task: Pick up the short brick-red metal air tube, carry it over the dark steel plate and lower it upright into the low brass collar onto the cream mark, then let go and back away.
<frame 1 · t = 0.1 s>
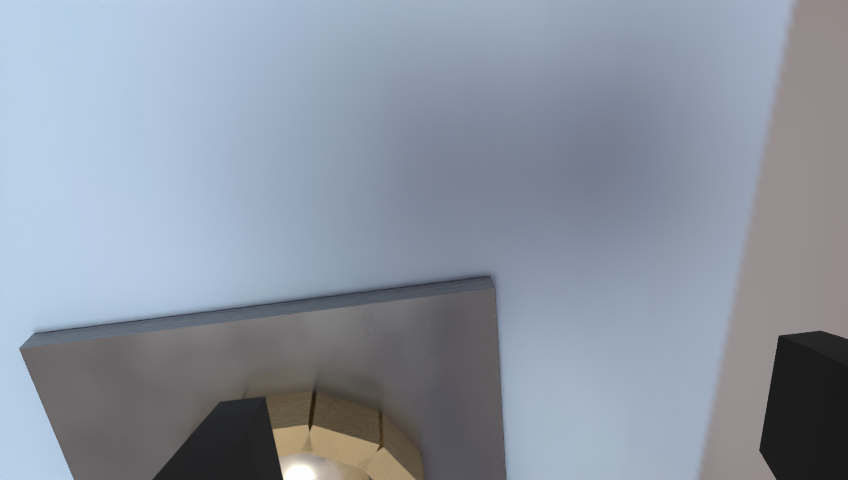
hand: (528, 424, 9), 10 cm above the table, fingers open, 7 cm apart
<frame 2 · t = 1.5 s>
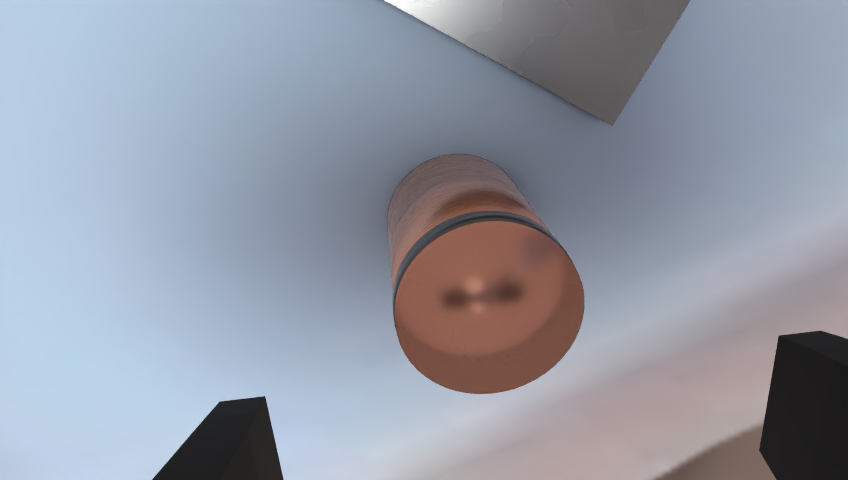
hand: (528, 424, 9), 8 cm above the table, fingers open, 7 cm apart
air tube: (455, 220, 16), on the table
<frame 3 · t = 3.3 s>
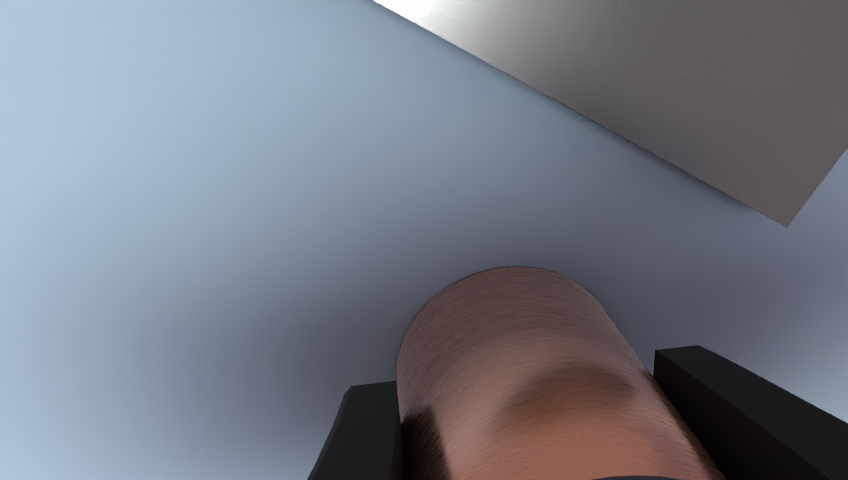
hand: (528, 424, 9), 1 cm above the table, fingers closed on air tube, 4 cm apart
air tube: (507, 366, 10), on the table, touching gripper
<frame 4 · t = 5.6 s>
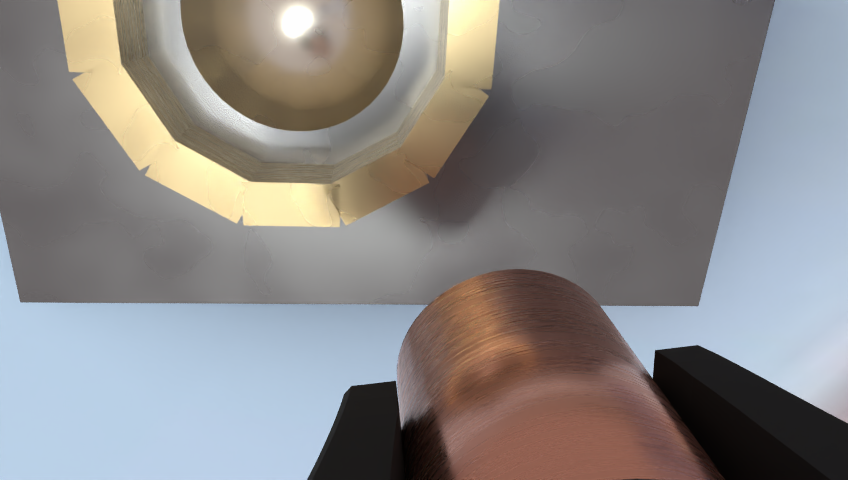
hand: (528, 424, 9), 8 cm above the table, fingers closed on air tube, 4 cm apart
collar plate: (384, 25, 14), on the table
air tube: (507, 368, 10), point 7 cm above the table, touching gripper
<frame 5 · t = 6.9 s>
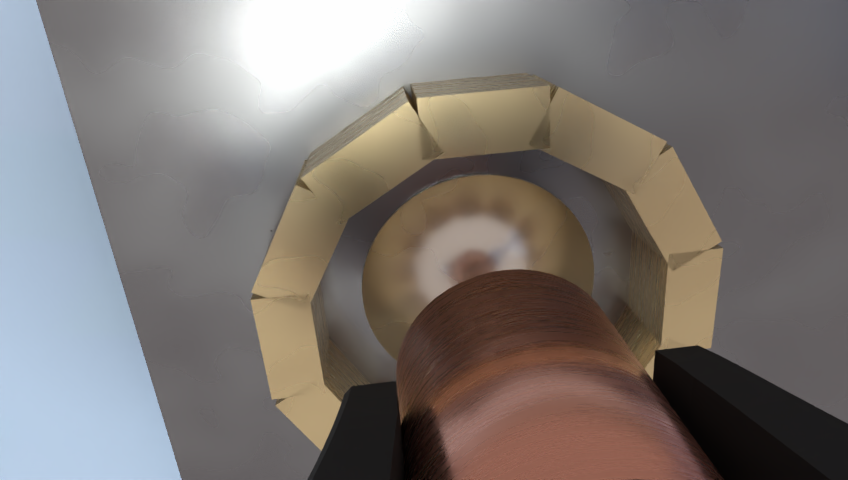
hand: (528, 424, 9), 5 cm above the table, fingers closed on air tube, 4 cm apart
collar plate: (562, 259, 13), on the table
air tube: (506, 369, 10), point 4 cm above the table, touching gripper
when the fingers open (3 cm above the table, at t = 8.1 s): air tube stays where it is, resting on collar plate.
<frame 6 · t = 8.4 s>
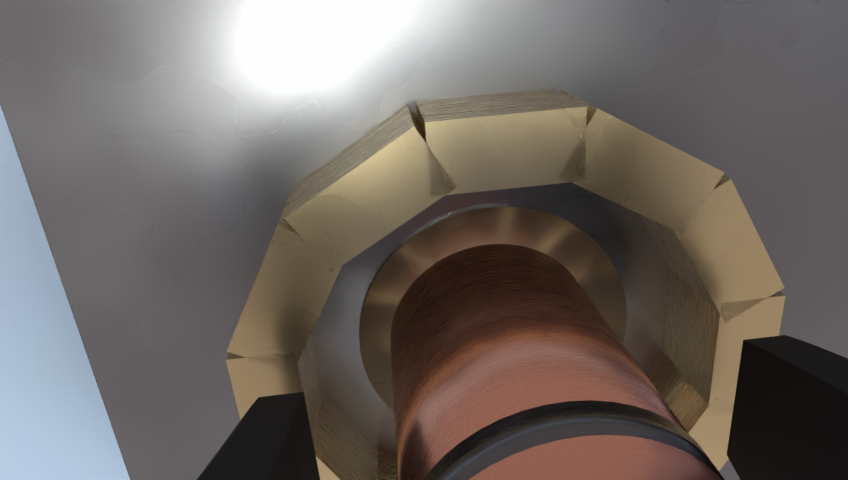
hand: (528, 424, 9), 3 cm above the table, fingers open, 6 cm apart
collar plate: (588, 298, 12), on the table
air tube: (491, 337, 11), point 1 cm above the table, touching collar plate
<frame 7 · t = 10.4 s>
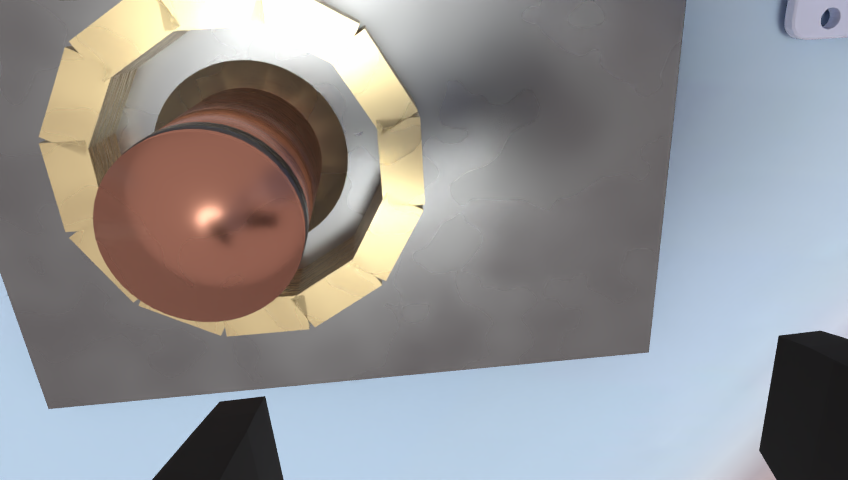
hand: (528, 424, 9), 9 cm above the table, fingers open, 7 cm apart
collar plate: (333, 144, 16), on the table
air tube: (249, 160, 15), point 1 cm above the table, touching collar plate
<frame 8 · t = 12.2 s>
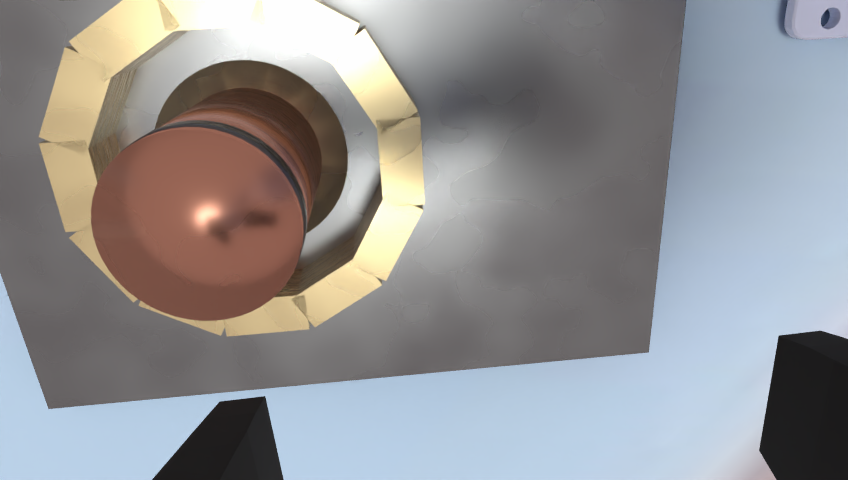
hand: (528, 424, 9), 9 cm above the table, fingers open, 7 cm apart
collar plate: (333, 144, 16), on the table
air tube: (249, 160, 15), point 1 cm above the table, touching collar plate
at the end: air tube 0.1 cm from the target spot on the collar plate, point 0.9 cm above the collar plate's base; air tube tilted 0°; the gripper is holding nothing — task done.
